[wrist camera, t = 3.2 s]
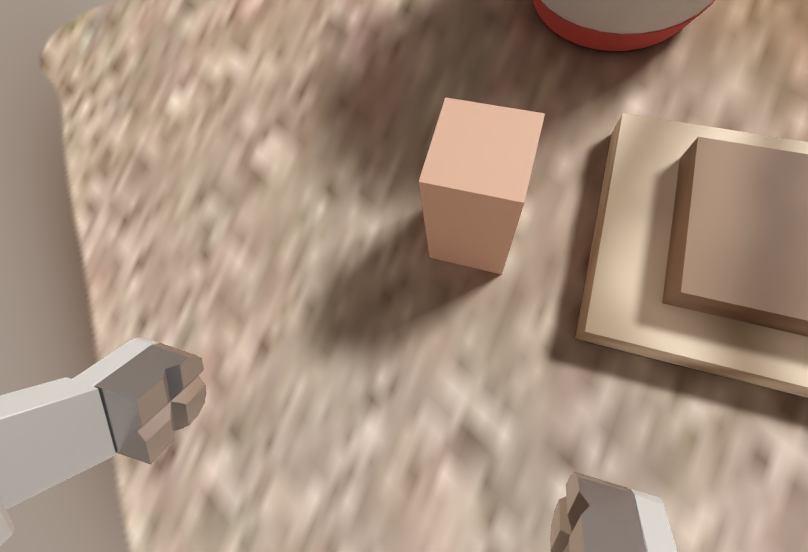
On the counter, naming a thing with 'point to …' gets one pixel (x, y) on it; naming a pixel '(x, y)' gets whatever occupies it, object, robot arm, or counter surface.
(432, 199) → the pillar block
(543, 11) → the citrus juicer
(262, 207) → the counter surface
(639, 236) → the stepped pedestal
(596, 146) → the counter surface
